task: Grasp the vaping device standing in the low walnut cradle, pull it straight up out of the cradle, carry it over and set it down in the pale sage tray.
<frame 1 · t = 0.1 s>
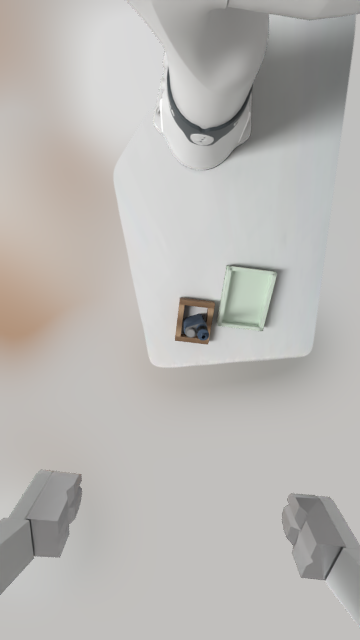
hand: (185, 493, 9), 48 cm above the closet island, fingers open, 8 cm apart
tray: (243, 297, 55), on the closet island
vaping device: (194, 319, 57), resting in holder
holder: (194, 319, 57), on the closet island
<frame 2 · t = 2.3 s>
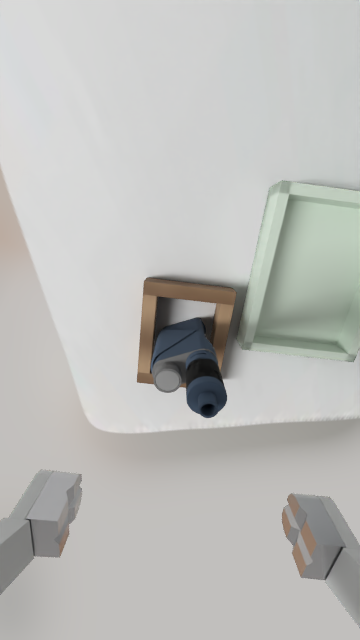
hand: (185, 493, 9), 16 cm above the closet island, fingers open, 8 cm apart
tray: (307, 278, 22), on the closet island
vaping device: (183, 331, 24), resting in holder
holder: (183, 332, 24), on the closet island
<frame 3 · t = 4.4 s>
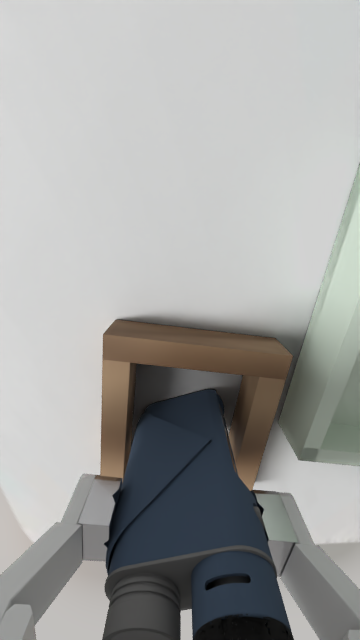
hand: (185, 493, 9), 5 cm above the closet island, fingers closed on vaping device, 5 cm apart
vaping device: (183, 410, 14), resting in holder, touching gripper
holder: (183, 412, 13), on the closet island
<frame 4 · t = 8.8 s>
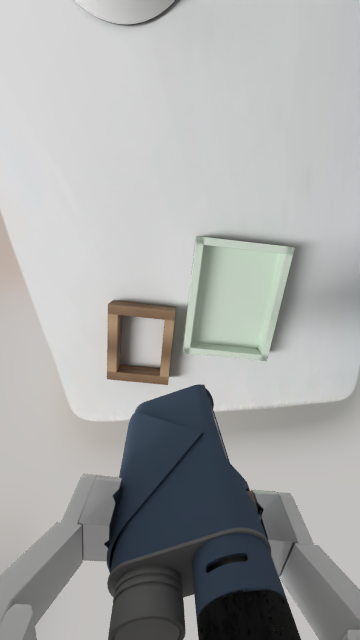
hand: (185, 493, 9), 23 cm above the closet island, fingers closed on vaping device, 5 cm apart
tray: (230, 299, 30), on the closet island
vaping device: (174, 406, 14), point 18 cm above the closet island, touching gripper
holder: (142, 340, 32), on the closet island
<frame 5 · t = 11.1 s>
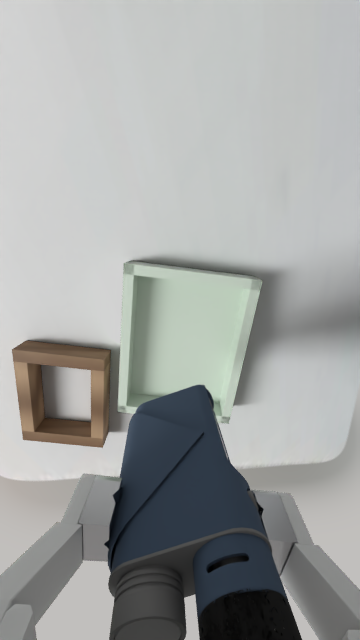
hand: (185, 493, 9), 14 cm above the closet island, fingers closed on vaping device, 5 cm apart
tray: (182, 341, 22), on the closet island
vaping device: (174, 406, 14), point 9 cm above the closet island, touching gripper
holder: (70, 389, 24), on the closet island
when the fingers open (7 cm above the closet island, at t = 13.2 s): vaping device drops 2 cm, resting on tray.
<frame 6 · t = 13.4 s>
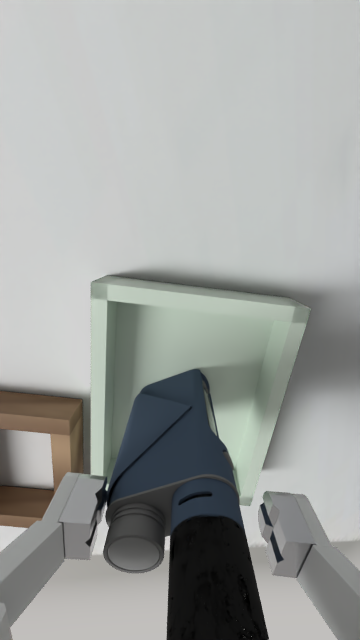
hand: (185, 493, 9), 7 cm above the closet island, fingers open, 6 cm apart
tray: (184, 388, 16), on the closet island
vaping device: (174, 390, 15), resting on tray, touching gripper
holder: (28, 450, 18), on the closet island
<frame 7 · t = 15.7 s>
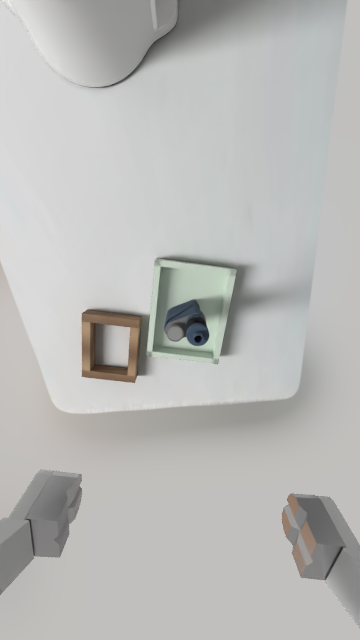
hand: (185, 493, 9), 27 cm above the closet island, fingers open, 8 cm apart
tray: (188, 310, 35), on the closet island
vaping device: (184, 310, 34), resting on tray
holder: (113, 344, 37), on the closet island
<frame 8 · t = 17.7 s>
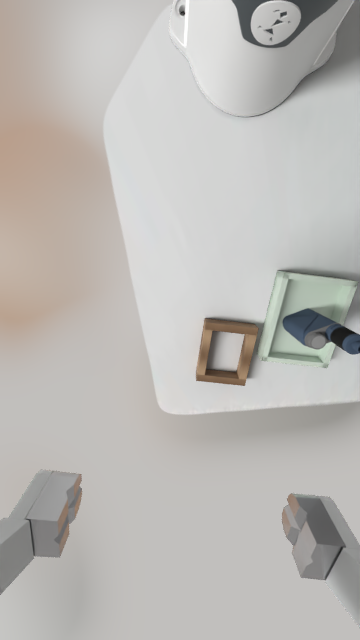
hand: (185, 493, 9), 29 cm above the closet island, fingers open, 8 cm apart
tray: (299, 318, 37), on the closet island
vaping device: (296, 318, 37), resting on tray
holder: (224, 350, 39), on the closet island
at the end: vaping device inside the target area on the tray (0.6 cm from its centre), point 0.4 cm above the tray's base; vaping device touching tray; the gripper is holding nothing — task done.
